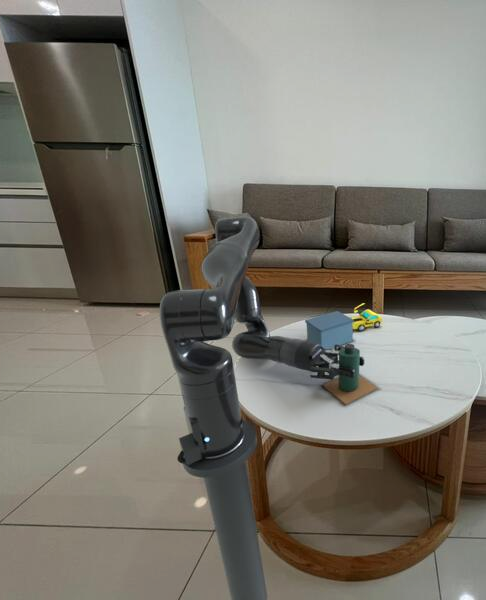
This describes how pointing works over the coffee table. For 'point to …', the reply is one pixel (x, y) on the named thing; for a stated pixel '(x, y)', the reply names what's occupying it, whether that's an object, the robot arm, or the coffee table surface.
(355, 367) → the bottle
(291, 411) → the coffee table surface
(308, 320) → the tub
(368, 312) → the toy car
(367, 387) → the mat
